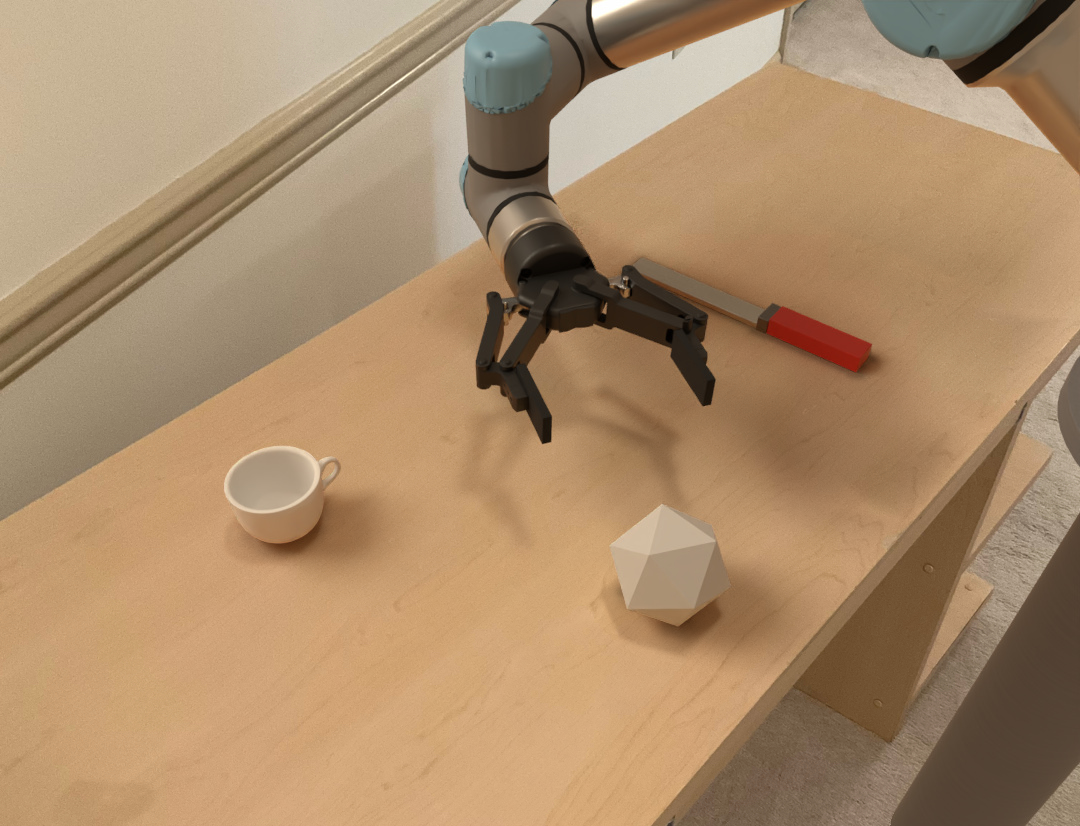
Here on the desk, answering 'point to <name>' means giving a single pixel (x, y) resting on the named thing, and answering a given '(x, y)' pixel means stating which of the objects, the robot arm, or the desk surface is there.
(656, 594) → the white icosahedron
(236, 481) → the teacup
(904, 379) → the desk surface
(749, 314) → the knife
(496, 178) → the robot arm
